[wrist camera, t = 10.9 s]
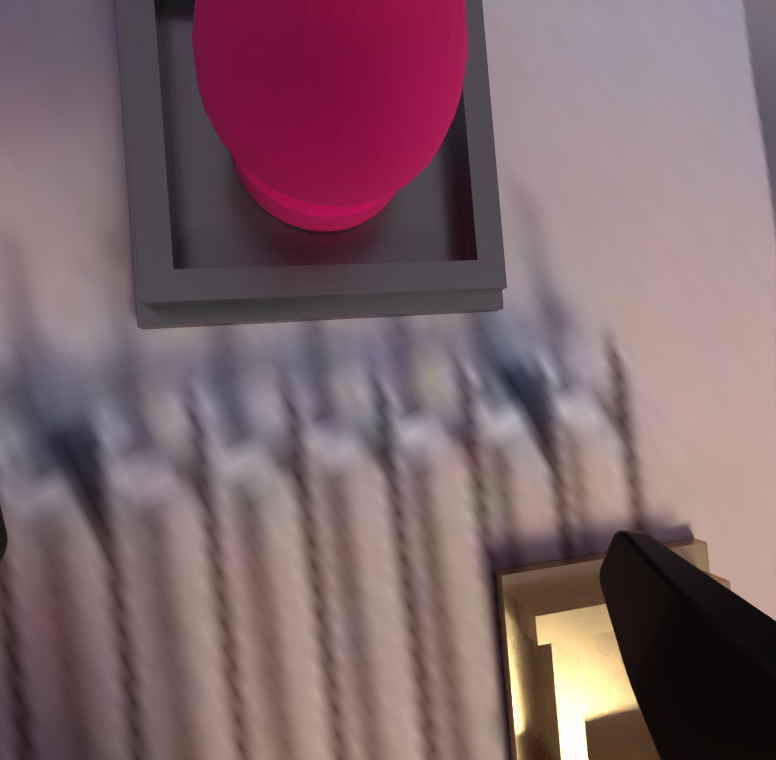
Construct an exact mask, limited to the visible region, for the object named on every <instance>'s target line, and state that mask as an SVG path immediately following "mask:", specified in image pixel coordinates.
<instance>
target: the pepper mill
mask: <svg viewBox="0 0 776 760" xmlns="http://www.w3.org/2000/svg"><path fill="white" fill-rule="evenodd" d="M191 39H192V46H193V54H194V62H195V70H196V77H197V84H198V91H199V94H200V97H201V100H202V103H203V106H204V109H205V112H206V114H207V116H208V118H209V120H210V122H211V124H212V126H213V128H214V130H215V132H216V134H217V135H218V137H219V139H220V140H221V142H222V143H223V144H224V145H225V147H226V148H227V149H228V150H229V152H230V154H231V158H232V161H233V165H234V168H235V170H236V172H237V175H238V177H239V179H240V180H241V182H242V184H243V185H244V187H245V189H246V190H247V191H248V193H249V194H250V195H251V196H252V198H253V199H254V200H255V201H256V202H257V203H258V204H259V205H260V206H261V207H262V208H264V209H265V210H266V211H268V212H269V213H270V214H271V215H273V216H275V217H276V218H278V219H280V220H282V221H283V222H286V223H288V224H290V225H292V226H295V227H299V228H302V229H306V230H312V231H323V232H329V231H339V230H344V229H349V228H351V227H354V226H357V225H360V224H362V223H363V222H365V221H367V220H368V219H370V218H372V217H373V216H375V215H376V214H377V213H378V212H379V211H381V210H382V209H383V208H384V207H385V206H386V205H387V204H388V202H389V201H390V200H391V198H392V197H393V196H394V194H395V192H396V191H397V190H398V189H400V188H402V187H403V186H405V185H407V184H408V183H409V182H410V181H412V180H413V179H414V178H415V177H416V176H417V175H418V174H419V173H420V172H421V171H422V170H423V169H424V168H425V167H426V166H427V165H428V164H429V162H430V161H431V160H432V158H433V157H434V156H435V154H436V153H437V152H438V150H439V148H440V146H441V144H442V142H443V140H444V138H445V136H446V133H447V131H448V129H449V127H450V125H451V122H452V120H453V118H454V116H455V113H456V110H457V106H458V103H459V100H460V97H461V93H462V87H463V80H464V73H465V67H466V60H467V44H468V40H467V22H466V3H465V0H195V7H194V17H193V27H192V37H191Z"/></svg>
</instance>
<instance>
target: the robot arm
mask: <svg viewBox="0 0 776 760" xmlns="http://www.w3.org/2000/svg"><path fill="white" fill-rule="evenodd" d="M7 539H8V538H7V531H6V527H5V523H4V519H3V515H2V510H1V506H0V561H1V559H2V557H3V555H4V553H5V550H6V547H7ZM599 581H600V586H601V590H602V593H603V597H604V600H605V603H606V607H607V610H608V613H609V617H610V620H611V623H612V627H613V630H614V634H615V637H616V640H617V644H618V647H619V650H620V654H621V657H622V660H623V664H624V667H625V670H626V673H627V676H628V679H629V682H630V685H631V688H632V690H633V693H634V695H635V698H636V701H637V703H638V706H639V708H640V711H641V713H642V716H643V718H644V721H645V723H646V725H647V728H648V730H649V733H650V735H651V738H652V740H653V743H654V745H655V748H656V750H657V753H658V755H659V758H660V760H776V621H775V620H773V619H772V618H770V617H769V616H768V615H766V614H765V613H763V612H762V611H760V610H759V609H757V608H756V607H754V606H753V605H751V604H750V603H748V602H747V601H745V600H744V599H743V598H741V597H740V596H738V595H737V594H735V593H734V592H732V591H731V590H729V589H728V588H726V587H725V586H723V585H722V584H720V583H719V582H718V581H716V580H715V579H713V578H712V577H710V576H709V575H707V574H706V573H704V572H703V571H701V570H700V569H698V568H697V567H696V566H694V565H693V564H691V563H690V562H688V561H687V560H685V559H684V558H682V557H681V556H679V555H678V554H676V553H675V552H673V551H672V550H671V549H669V548H668V547H666V546H665V545H663V544H662V543H660V542H659V541H657V540H656V539H654V538H653V537H651V536H650V535H648V534H647V533H644V532H640V531H624V530H622V531H618V532H617V533H616V534H615V535H614V536H613V538H612V540H611V543H610V545H609V548H608V550H607V553H606V555H605V558H604V560H603V563H602V565H601V568H600V572H599Z"/></svg>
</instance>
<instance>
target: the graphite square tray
mask: <svg viewBox="0 0 776 760" xmlns="http://www.w3.org/2000/svg"><path fill="white" fill-rule="evenodd" d="M465 3H466V22H467V40H468V44H467V60H466V67H465V73H464V80H463V87H462V93H461V97H460V100H459V103H458V106H457V110H456V113H455V116H454V118H453V120H452V122H451V125H450V127H449V129H448V131H447V133H446V136H445V138H444V140H443V142H442V144H441V146H440V148H439V150H438V152H437V153H436V154H435V156H434V157H433V158H432V160H431V161H430V162H429V164H428V165H427V166H426V167H425V168H424V169H423V170H422V171H421V172H420V173H419V174H418V175H417V176H416V177H415V178H414V179H413V180H412V181H410V182H409V183H408V184H407V185H405V186H403V187H402V188H400V189H398V190H397V191H396V192H395V194H394V196H393V197H392V198H391V200H390V201H389V202H388V204H387V205H386V206H385V207H384V208H383V209H382V210H381V211H379V212H378V213H377V214H376V215H375V216H373V217H372V218H370V219H368V220H367V221H365V222H363V223H362V224H360V225H357V226H354V227H351V228H349V229H344V230H339V231H329V232H323V231H312V230H306V229H302V228H299V227H295V226H292V225H290V224H288V223H286V222H283V221H282V220H280V219H278V218H276V217H275V216H273V215H271V214H270V213H269V212H268V211H266V210H265V209H264V208H262V207H261V206H260V205H259V204H258V203H257V202H256V201H255V200H254V199H253V198H252V196H251V195H250V194H249V193H248V191H247V190H246V189H245V187H244V185H243V184H242V182H241V180H240V179H239V177H238V175H237V172H236V170H235V168H234V165H233V161H232V158H231V154H230V152H229V150H228V149H227V148H226V147H225V145H224V144H223V143H222V142H221V140H220V139H219V137H218V135H217V134H216V132H215V130H214V128H213V126H212V124H211V122H210V120H209V118H208V116H207V114H206V112H205V109H204V106H203V103H202V100H201V97H200V94H199V91H198V84H197V77H196V70H195V62H194V54H193V46H192V39H191V37H192V27H193V17H194V7H195V0H115V11H116V25H117V39H118V54H119V68H120V82H121V96H122V110H123V124H124V139H125V153H126V167H127V181H128V195H129V209H130V224H131V238H132V252H133V266H134V280H135V294H136V309H137V323H138V327H139V328H141V329H157V328H176V327H196V326H216V325H235V324H255V323H274V322H294V321H313V320H333V319H352V318H372V317H391V316H411V315H430V314H450V313H469V312H489V311H498V310H501V309H503V297H502V290H503V289H505V288H507V283H506V272H505V260H504V249H503V237H502V226H501V214H500V203H499V191H498V180H497V168H496V157H495V146H494V134H493V123H492V111H491V100H490V88H489V77H488V65H487V54H486V42H485V31H484V19H483V8H482V0H465Z"/></svg>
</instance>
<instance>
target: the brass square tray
mask: <svg viewBox="0 0 776 760" xmlns="http://www.w3.org/2000/svg"><path fill="white" fill-rule="evenodd" d="M663 545H665V546H666V547H668V548H669V549H671V550H672V551H673V552H675V553H676V554H678V555H679V556H681V557H682V558H684V559H685V560H687V561H688V562H690V563H691V564H693V565H694V566H696V567H697V568H698V569H700V570H701V571H703V572H704V573H706V574H707V575H709V576H710V577H712V578H713V579H715V580H716V581H718V582H719V583H720V584H722V585H723V586H725V587H726V588H728V589H729V590H731V589H730V581H728V580H726V579H723V578H721V577H718V576H716V575H713V574H711V573H710V571H709V560H708V550H707V542H704V541H701V540H698V539H689V540H683V541H677V542H670V543H664V544H663ZM605 555H606V553H601V554H595V555H589V556H583V557H576V558H570V559H564V560H558V561H551V562H545V563H539V564H533V565H526V566H520V567H514V568H508V569H501V570H495V574H496V586H497V598H498V610H499V621H500V633H501V645H502V656H503V668H504V680H505V692H506V703H507V715H508V727H509V738H510V750H511V760H660V758H659V755H658V753H657V750H656V748H655V745H654V743H653V740H652V738H651V735H650V733H649V730H648V728H647V725H646V723H645V721H644V718H643V716H642V713H641V711H640V708H639V706H638V703H637V701H636V698H635V695H634V693H633V690H632V688H631V685H630V682H629V679H628V676H627V673H626V670H625V667H624V664H623V660H622V657H621V654H620V650H619V647H618V644H617V640H616V637H615V634H614V630H613V627H612V623H611V620H610V617H609V613H608V610H607V607H606V603H605V600H604V597H603V593H602V590H601V586H600V581H599V572H600V568H601V565H602V563H603V560H604V558H605Z"/></svg>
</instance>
